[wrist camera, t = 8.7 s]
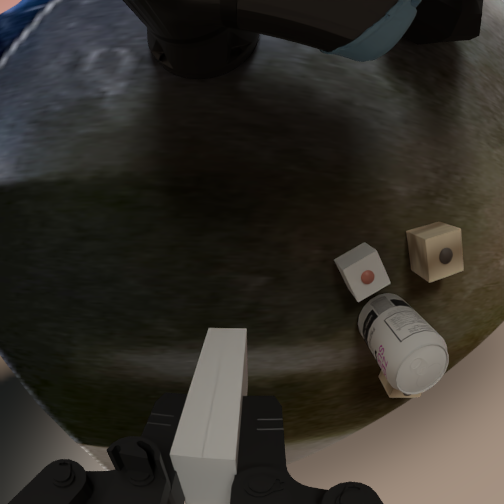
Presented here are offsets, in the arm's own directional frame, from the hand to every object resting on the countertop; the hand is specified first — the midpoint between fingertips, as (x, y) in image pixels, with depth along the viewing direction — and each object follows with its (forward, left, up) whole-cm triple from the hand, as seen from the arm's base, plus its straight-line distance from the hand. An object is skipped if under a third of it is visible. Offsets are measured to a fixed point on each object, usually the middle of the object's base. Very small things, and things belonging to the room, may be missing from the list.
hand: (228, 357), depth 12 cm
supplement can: (+13, +20, -31) cm, 39 cm away
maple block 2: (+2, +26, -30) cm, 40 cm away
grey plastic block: (+5, +15, -31) cm, 34 cm away
